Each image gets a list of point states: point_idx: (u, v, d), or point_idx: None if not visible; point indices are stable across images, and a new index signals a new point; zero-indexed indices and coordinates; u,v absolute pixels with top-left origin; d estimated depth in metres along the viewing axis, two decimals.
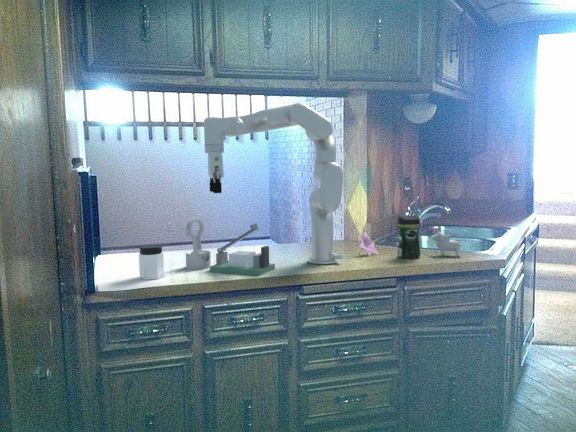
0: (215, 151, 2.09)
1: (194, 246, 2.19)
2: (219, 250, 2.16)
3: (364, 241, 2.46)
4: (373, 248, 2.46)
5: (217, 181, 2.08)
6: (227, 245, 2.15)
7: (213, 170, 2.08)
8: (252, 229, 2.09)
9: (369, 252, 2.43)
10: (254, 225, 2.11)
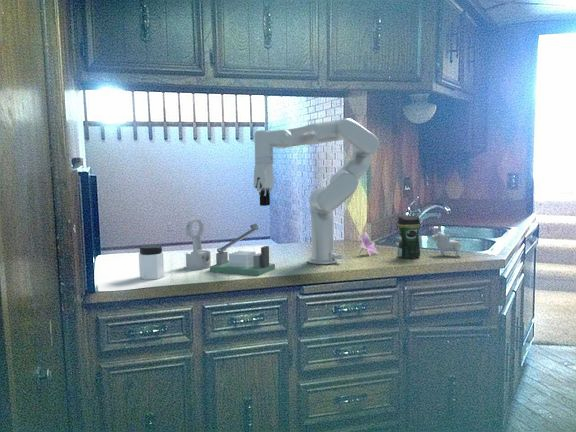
0: None
1: (194, 246, 2.19)
2: (219, 250, 2.16)
3: (364, 241, 2.46)
4: (374, 248, 2.46)
5: None
6: (227, 245, 2.15)
7: None
8: (252, 229, 2.09)
9: (369, 252, 2.43)
10: (254, 225, 2.11)
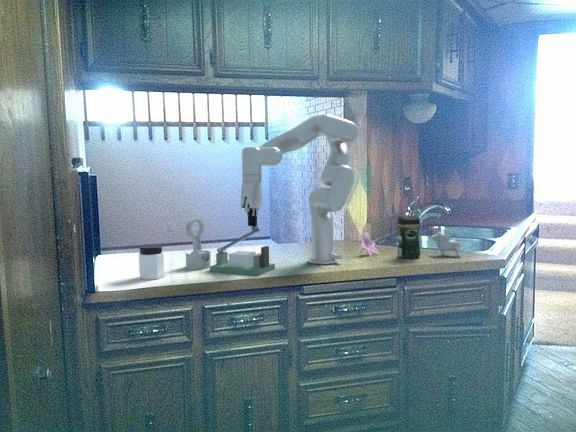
0: None
1: (194, 246, 2.19)
2: (219, 250, 2.16)
3: (365, 241, 2.46)
4: (374, 248, 2.46)
5: None
6: (227, 245, 2.15)
7: None
8: (253, 231, 2.09)
9: (370, 252, 2.43)
10: (255, 227, 2.11)
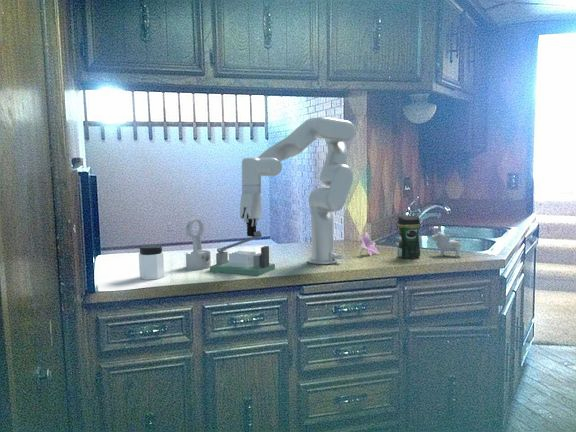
0: None
1: (194, 246, 2.19)
2: (219, 250, 2.16)
3: (365, 241, 2.46)
4: (374, 248, 2.46)
5: None
6: (228, 247, 2.15)
7: None
8: (255, 236, 2.09)
9: (370, 252, 2.43)
10: (258, 232, 2.10)
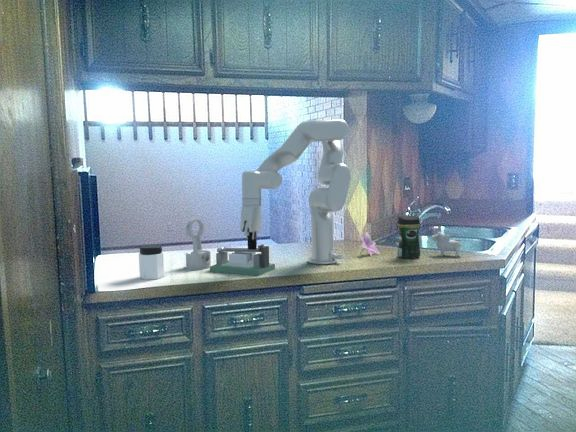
0: None
1: (194, 246, 2.19)
2: (219, 250, 2.16)
3: (365, 241, 2.46)
4: (375, 248, 2.46)
5: None
6: (228, 250, 2.15)
7: None
8: (258, 250, 2.09)
9: (370, 252, 2.43)
10: (261, 246, 2.10)
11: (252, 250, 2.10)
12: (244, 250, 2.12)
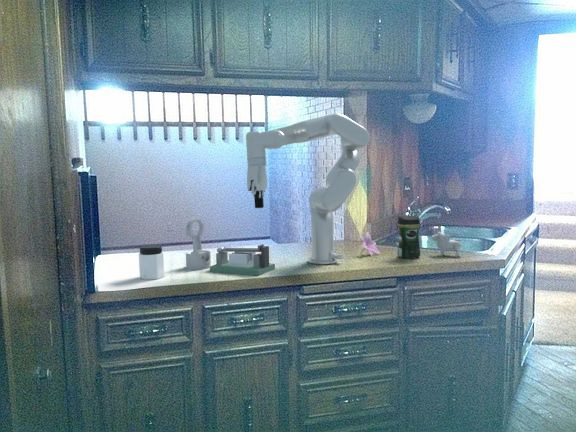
0: None
1: (194, 246, 2.19)
2: (219, 250, 2.16)
3: (366, 241, 2.46)
4: (375, 248, 2.46)
5: None
6: (228, 250, 2.15)
7: None
8: (258, 250, 2.09)
9: (371, 252, 2.43)
10: (261, 246, 2.10)
11: (252, 250, 2.10)
12: (244, 250, 2.12)
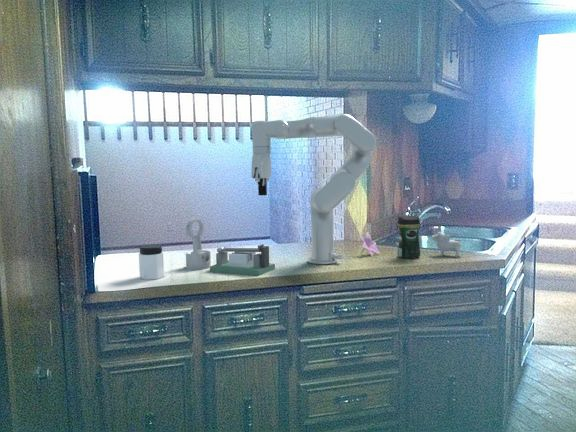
0: None
1: (194, 246, 2.19)
2: (219, 250, 2.16)
3: (366, 241, 2.45)
4: (375, 248, 2.46)
5: None
6: (228, 250, 2.15)
7: None
8: (258, 250, 2.09)
9: (371, 252, 2.43)
10: (261, 246, 2.10)
11: (252, 250, 2.10)
12: (244, 250, 2.12)
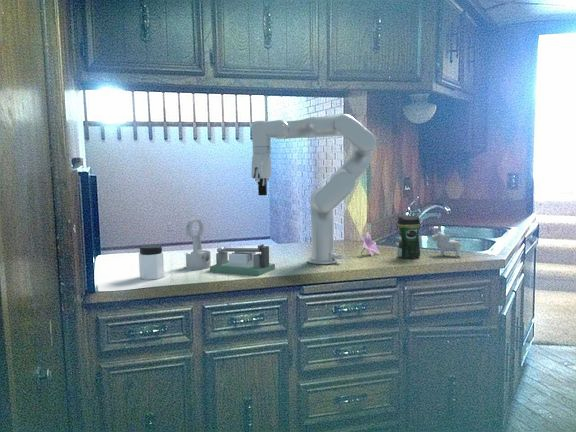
0: None
1: (194, 246, 2.19)
2: (219, 250, 2.16)
3: (366, 241, 2.45)
4: (375, 248, 2.46)
5: None
6: (228, 250, 2.15)
7: None
8: (258, 250, 2.09)
9: (371, 252, 2.43)
10: (261, 246, 2.10)
11: (252, 250, 2.10)
12: (244, 250, 2.12)
